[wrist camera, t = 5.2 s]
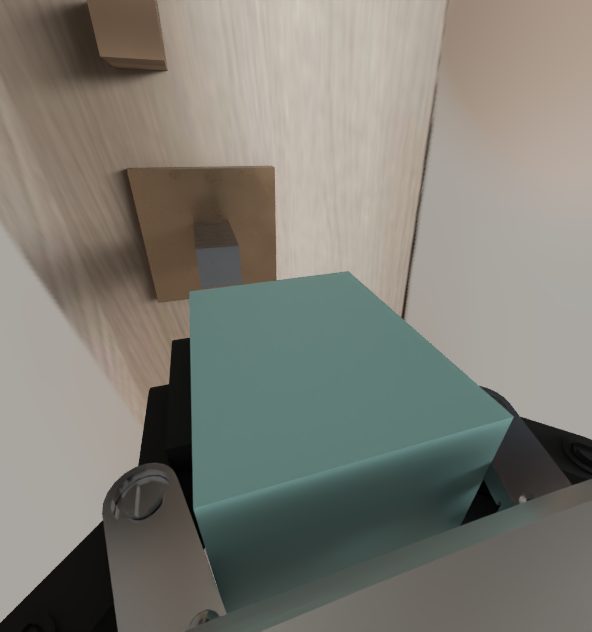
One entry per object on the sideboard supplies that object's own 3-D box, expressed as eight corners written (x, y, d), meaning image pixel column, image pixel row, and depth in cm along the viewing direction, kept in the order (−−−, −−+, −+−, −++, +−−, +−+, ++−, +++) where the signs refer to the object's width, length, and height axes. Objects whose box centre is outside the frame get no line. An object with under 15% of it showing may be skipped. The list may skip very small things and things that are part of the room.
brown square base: (128, 168, 22) (108, 184, 16) (271, 165, 24) (297, 179, 19) (159, 297, 27) (151, 344, 21) (273, 284, 29) (295, 323, 24)
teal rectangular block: (189, 291, 10) (193, 509, 4) (348, 271, 11) (514, 416, 5) (213, 413, 12) (235, 644, 7) (338, 385, 13) (442, 561, 8)
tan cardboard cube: (99, -1, 18) (79, -30, 14) (157, 4, 18) (151, -21, 15) (114, 67, 19) (99, 56, 16) (167, 70, 20) (163, 60, 17)
